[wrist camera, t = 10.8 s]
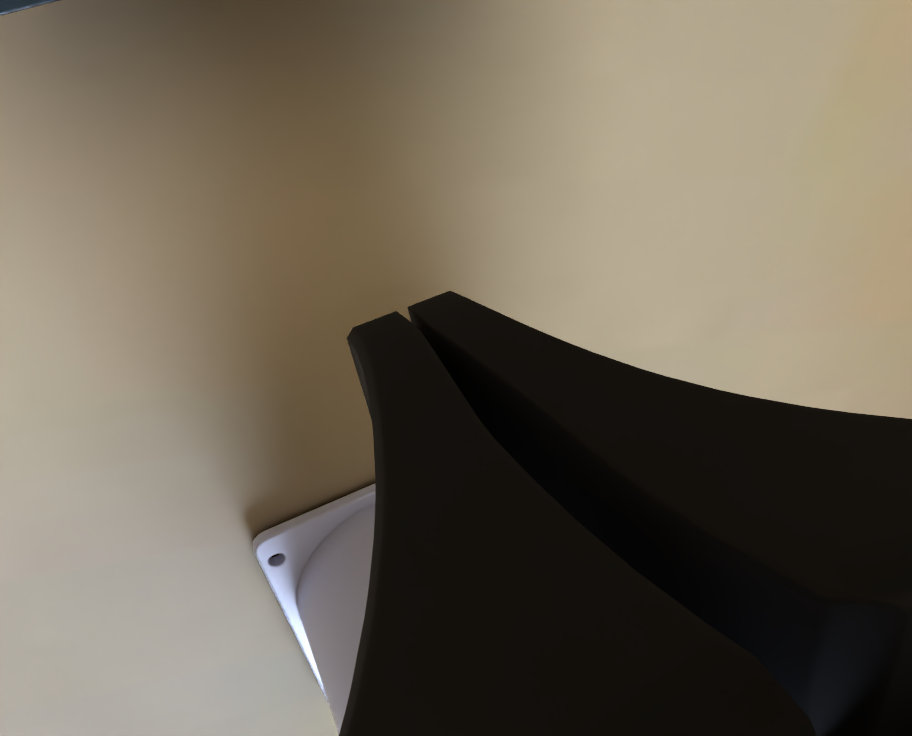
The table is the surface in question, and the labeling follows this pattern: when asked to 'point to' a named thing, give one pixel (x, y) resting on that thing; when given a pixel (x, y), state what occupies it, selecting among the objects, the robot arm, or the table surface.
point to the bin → (20, 5)
